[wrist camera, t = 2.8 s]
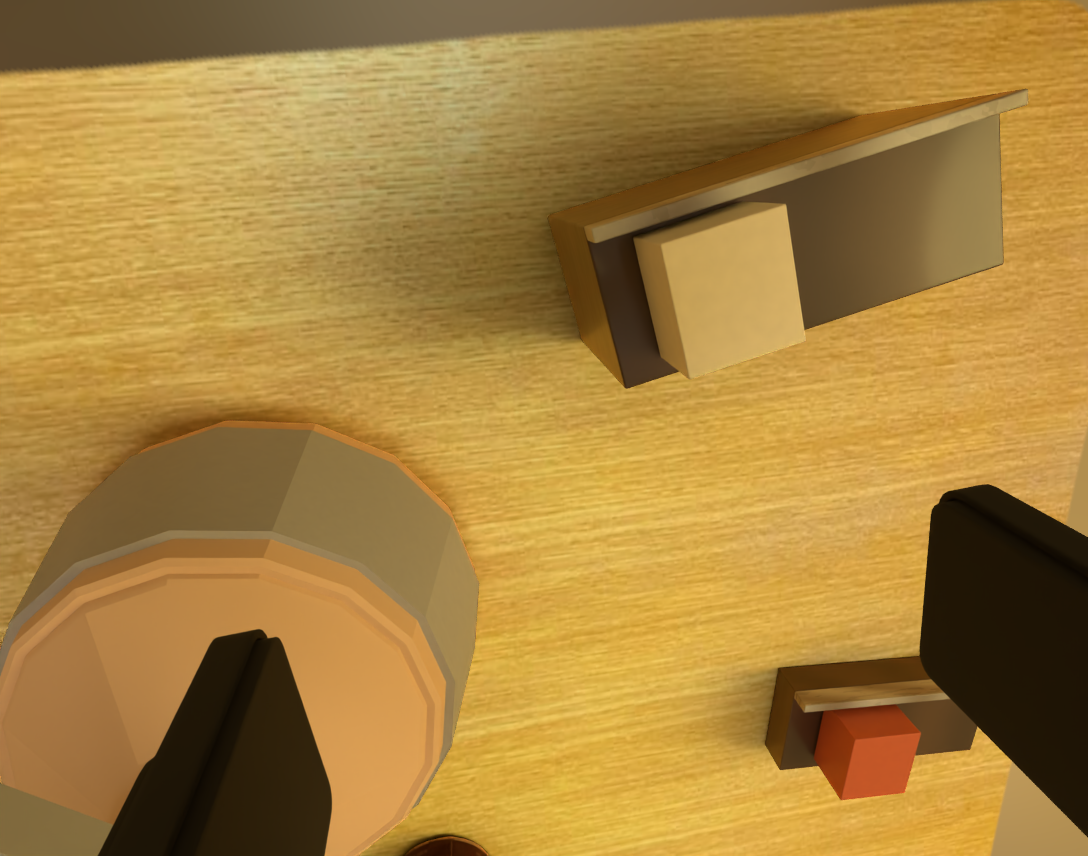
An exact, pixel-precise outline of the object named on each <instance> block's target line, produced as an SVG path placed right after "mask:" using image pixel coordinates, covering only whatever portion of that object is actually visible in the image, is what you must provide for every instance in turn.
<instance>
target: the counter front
mask: <svg viewBox="0 0 1088 856" xmlns="http://www.w3.org/2000/svg"><path fill="white" fill-rule="evenodd" d="M1027 104H1028V89H1022V90H1015V91H1009V92H1003V93H998V94H991V95H985V96H978V97H972V98H966V99H960V100H953V101H947V102H941V103H934V104H928V105H922V106H915V107H909V108H903V109H896V110H890V111H884V112H878V113H871V114H865V115H860V116H857V117H854V118H851V119H847V120H844V121H841V122H838V123H835V124H832V125H829V126H826V127H822V128H819V129H816V130H813V131H810V132H807V133H804V134H800V135H797V136H794V137H791V138H788V139H785V140H782V141H779V142H775V143H772V144H769V145H766V146H763V147H760V148H757V149H753V150H750V151H747V152H744V153H741V154H738V155H735V156H732V157H728V158H725V159H722V160H719V161H716V162H713V163H710V164H706V165H703V166H700V167H697V168H694V169H691V170H688V171H685V172H681V173H678V174H675V175H672V176H669V177H666V178H663V179H659V180H656V181H653V182H650V183H647V184H644V185H641V186H638V187H634V188H631V189H628V190H625V191H622V192H619V193H616V194H613V195H609V196H606V197H603V198H600V199H597V200H594V201H591V202H587V203H584V204H581V205H578V206H575V207H572V208H569V209H566V210H562V211H559V212H556V213H553V214H550V215H548V221H549V224H550V228H551V232H552V235H553V239H554V242H555V246H556V250H557V253H558V257H559V261H560V264H561V268H562V271H563V275H564V279H565V282H566V286H567V289H568V293H569V297H570V300H571V304H572V307H573V311H574V315H575V318H576V322H577V326H578V329H579V333H580V336H581V340H582V341H583V343H584V344H585V345H586V346H587V347H588V348H589V349H590V350H591V351H592V352H593V353H594V355H595V356H596V357H597V358H598V359H599V360H600V361H601V362H602V363H603V364H604V366H605V367H606V368H607V369H608V370H609V371H610V372H611V373H612V374H613V375H614V376H615V378H616V379H617V380H618V381H619V382H620V383H621V384H622V385H623V386H624V387H625V388H630V387H634V386H637V385H640V384H643V383H646V382H649V381H652V380H655V379H658V378H661V377H664V376H667V375H670V374H673V373H676V372H679V371H678V370H677V369H675V368H674V367H673V366H672V365H670V364H669V363H668V362H667V361H665V360H664V359H663V358H661V356H660V352H659V347H658V343H657V339H656V335H655V330H654V326H653V322H652V317H651V313H650V309H649V304H648V300H647V296H646V292H645V287H644V283H643V279H642V274H641V270H640V266H639V262H638V257H637V253H636V249H635V244H634V240H633V237H634V236H637V235H640V234H643V233H646V232H649V231H652V230H655V229H658V228H662V227H665V226H668V225H671V224H674V223H677V222H680V221H683V220H686V219H690V218H693V217H696V216H699V215H702V214H705V213H708V212H711V211H714V210H717V209H721V208H724V207H727V206H730V205H733V204H736V203H739V202H742V201H745V202H762V203H778V204H786V208H787V215H788V222H789V229H790V236H791V243H792V250H793V257H794V263H795V270H796V277H797V284H798V291H799V298H800V305H801V311H802V318H803V325H804V330H806V329H809V328H812V327H815V326H818V325H821V324H824V323H827V322H830V321H833V320H836V319H839V318H842V317H845V316H848V315H851V314H854V313H857V312H860V311H863V310H866V309H869V308H872V307H875V306H878V305H882V304H885V303H888V302H891V301H894V300H897V299H900V298H903V297H906V296H909V295H912V294H915V293H918V292H921V291H924V290H927V289H930V288H933V287H936V286H939V285H942V284H945V283H948V282H951V281H954V280H957V279H960V278H963V277H966V276H969V275H972V274H975V273H978V272H981V271H984V270H987V269H990V268H993V267H996V266H999V265H1002V264H1003V262H1004V261H1003V225H1002V190H1001V154H1000V119H999V114H1000V113H1003V112H1006V111H1010V110H1013V109H1016V108H1019V107H1022V106H1025V105H1027Z"/></svg>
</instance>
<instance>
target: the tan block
mask: <svg viewBox="0 0 1088 856" xmlns="http://www.w3.org/2000/svg"><path fill="white" fill-rule="evenodd" d="M633 240H634V244H635V249H636V253H637V257H638V262H639V266H640V270H641V274H642V279H643V283H644V287H645V292H646V296H647V300H648V304H649V309H650V313H651V317H652V322H653V326H654V330H655V335H656V339H657V343H658V347H659V352H660V356H661V358H663V359H664V360H665V361H667V362H668V363H669V364H670V365H672V366H673V367H674V368H675V369H677V370H678V371H679V372H681V373H682V374H683V375H684V376H686V377H687V378H688V379H693V378H696V377H699V376H702V375H705V374H708V373H711V372H714V371H717V370H720V369H723V368H726V367H729V366H732V365H736V364H739V363H742V362H745V361H748V360H751V359H754V358H757V357H760V356H763V355H766V354H769V353H772V352H775V351H778V350H781V349H784V348H787V347H790V346H793V345H796V344H799V343H802V342H805V341H806V339H805V332H804V325H803V318H802V311H801V305H800V298H799V291H798V284H797V277H796V270H795V263H794V257H793V250H792V243H791V236H790V229H789V222H788V215H787V208H786V204H778V203H762V202H745V201H742V202H739V203H736V204H733V205H730V206H727V207H724V208H721V209H717V210H714V211H711V212H708V213H705V214H702V215H699V216H696V217H693V218H690V219H686V220H683V221H680V222H677V223H674V224H671V225H668V226H665V227H662V228H658V229H655V230H652V231H649V232H646V233H643V234H640V235H637V236H634V237H633Z"/></svg>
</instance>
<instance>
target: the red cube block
mask: <svg viewBox="0 0 1088 856" xmlns="http://www.w3.org/2000/svg"><path fill="white" fill-rule="evenodd" d="M920 735H921V732H920V731H919V730H918V729H917V728H916V727H915V726H914V724H913V723H912V722H911V721H910V720H909V719H908V718H907V717H906V715H905V714H904V713H903V712H902V711H901V710H900V709H899V707H898V706H897V705H896V704H891V705H880V706H869V707H859V708H848V709H838V710H827V711H824V712H823V717H822V721H821V726H820V731H819V736H818V740H817V745H816V750H815V754H814V760H815V761H816V763H817V764H818V766H819V767H820V769H821V770H822V772H823V773H824V775H825V777H826V778H827V780H828V781H829V783H830V784H831V786H832V787H833V789H834V790H835V792H836V793H837V795H838V796H839V798H840V799H841V800H846V799H855V798H864V797H872V796H881V795H889V794H898V793H904V792H905V789H906V786H907V782H908V778H909V775H910V771H911V768H912V764H913V760H914V757H915V753H916V750H917V746H918V742H919V739H920Z"/></svg>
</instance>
